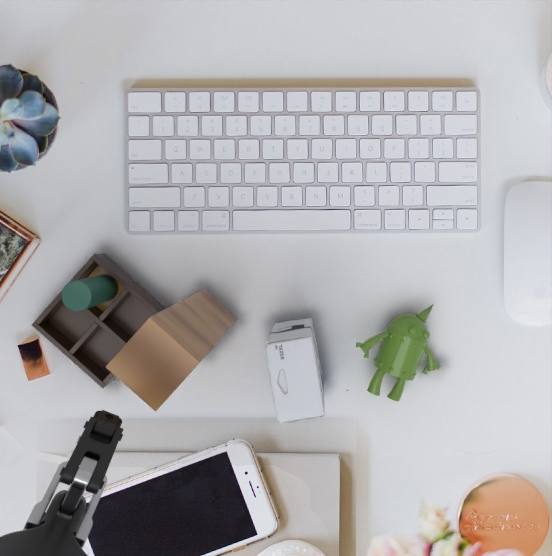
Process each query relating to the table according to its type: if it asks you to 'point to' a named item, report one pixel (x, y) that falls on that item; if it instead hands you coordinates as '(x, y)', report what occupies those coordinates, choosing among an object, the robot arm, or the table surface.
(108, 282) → the green cylinder
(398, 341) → the character figure
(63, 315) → the grid
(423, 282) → the table surface
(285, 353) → the ink box
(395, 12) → the table surface
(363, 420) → the table surface
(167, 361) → the pillar
